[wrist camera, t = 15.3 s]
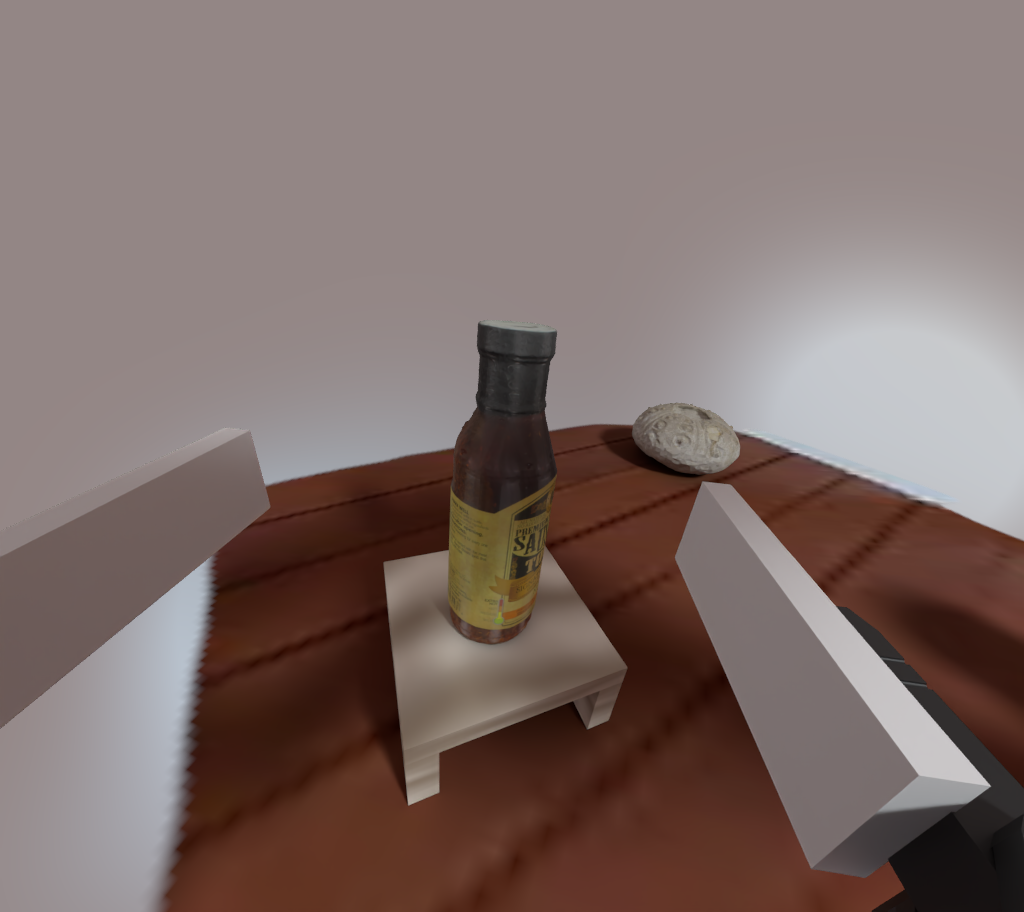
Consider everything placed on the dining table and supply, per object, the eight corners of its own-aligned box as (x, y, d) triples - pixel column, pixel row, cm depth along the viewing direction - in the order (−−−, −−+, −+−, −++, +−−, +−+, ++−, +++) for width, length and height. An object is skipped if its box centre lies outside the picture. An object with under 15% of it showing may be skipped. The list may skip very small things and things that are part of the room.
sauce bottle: (518, 664, 23) (566, 341, 14) (430, 631, 25) (425, 321, 16) (543, 590, 29) (588, 326, 20) (470, 567, 30) (483, 312, 21)
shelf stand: (608, 720, 26) (627, 667, 24) (408, 805, 21) (403, 750, 18) (530, 579, 38) (536, 533, 35) (388, 613, 33) (383, 562, 30)
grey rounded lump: (749, 475, 65) (772, 423, 60) (687, 496, 56) (709, 437, 52) (667, 437, 78) (680, 391, 74) (606, 449, 69) (617, 398, 65)
